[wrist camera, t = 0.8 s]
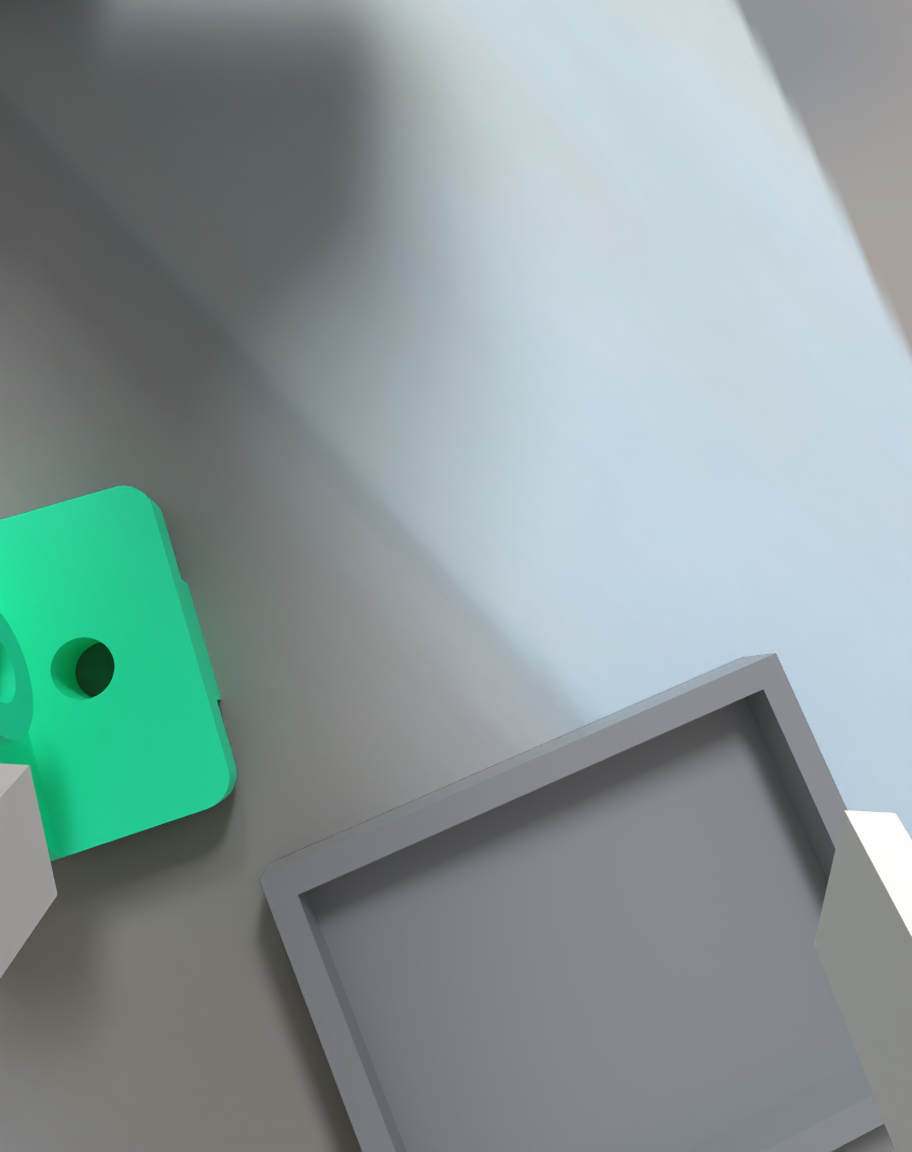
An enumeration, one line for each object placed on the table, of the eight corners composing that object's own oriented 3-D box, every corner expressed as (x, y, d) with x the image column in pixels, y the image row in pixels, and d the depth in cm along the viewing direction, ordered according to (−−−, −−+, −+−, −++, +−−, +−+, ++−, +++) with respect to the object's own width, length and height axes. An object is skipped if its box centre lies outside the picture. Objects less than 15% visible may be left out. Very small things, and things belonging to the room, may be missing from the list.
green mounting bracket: (249, 791, 33) (186, 831, 23) (46, 859, 32) (-114, 932, 22) (162, 495, 34) (66, 407, 24) (-34, 552, 33) (-221, 486, 23)
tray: (270, 862, 32) (259, 879, 29) (742, 657, 35) (775, 653, 32) (434, 1293, 31) (439, 1356, 28) (917, 1044, 33) (969, 1078, 30)
